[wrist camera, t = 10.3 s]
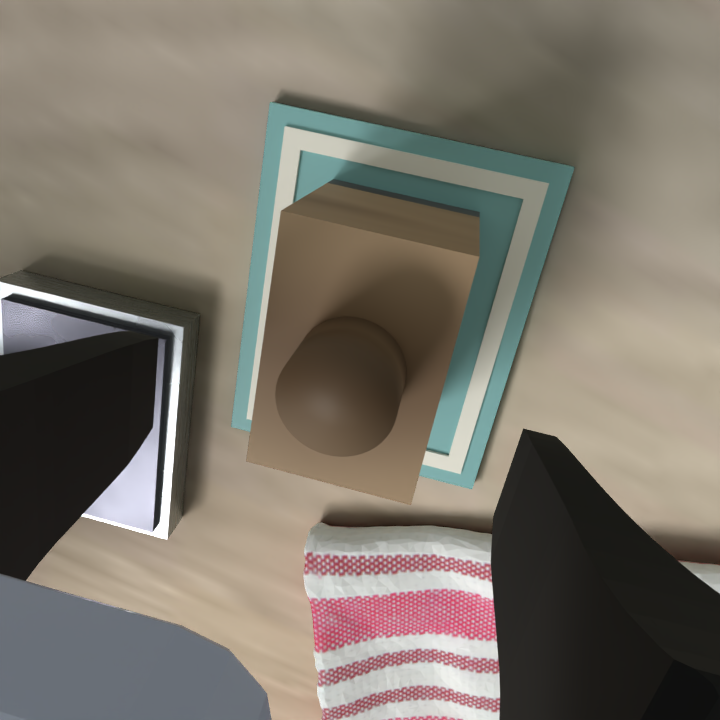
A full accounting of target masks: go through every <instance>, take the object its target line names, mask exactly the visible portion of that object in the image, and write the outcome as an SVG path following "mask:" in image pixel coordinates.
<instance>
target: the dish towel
mask: <svg viewBox="0 0 720 720" xmlns="http://www.w3.org/2000/svg"><path fill="white" fill-rule="evenodd" d="M491 544H492V534H489V533H479V532H474V531H470V530H463V529H455V528H449V527H438V526H428V525H426V526H387V527H385V526H378V527H345V526H330V525H327V524H324V523H317V524H316V525H315V526H314V527H312V528H311V530H310V531H309V533H308V538H307V541H306V545H305V549H304V555H305V559H306V561H305V568H304V575H303V576H304V585H305V589H306V592H307V595H308V598H309V601H310V604H311V609H312V617H313V628H314V640H315V647H314V656H315V667H316V669H317V671H318V673H319V680H318V683H317V695H318V698H319V701H320V705H321V708H322V711H323V716H322V720H499V716H500V677H499V660H498V648H497V636H496V624H495V612H494V601H493V588H492V575H491ZM677 561H679V562H680V563H681V564H682V565H683V566H685V567H686V568H687V569H688V570H689V571H691V572H692V573H693V574H694V575H696V576H697V577H698V578H700V579H701V580H702V581H703V582H705V583H706V584H707V585H709V586H710V587H711V588H713V589H714V590H715V591H717V592H718V593H720V564H711V563H697V562H690V561H681V560H677Z"/></svg>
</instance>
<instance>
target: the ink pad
mask: <svg viewBox="0 0 720 720" xmlns="http://www.w3.org/2000/svg"><path fill="white" fill-rule="evenodd" d="M199 320H200V314H197V313H193V312H189V311H185V310H180V309H176V308H172V307H168V306H164V305H160V304H156V303H152V302H148V301H144V300H140V299H136V298H132V297H127V296H123V295H119V294H115V293H111V292H107V291H103V290H99V289H95V288H91V287H87V286H83V285H79V284H75V283H70V282H66V281H62V280H58V279H54V278H50V277H46V276H42V275H38V274H34V273H30V272H26V271H22V270H20V271H18V272H15V273H13V274H10V275H8V276H5V277H3V278H0V355H5V354H10V353H15V352H21V351H26V350H31V349H36V348H41V347H45V346H50V345H54V344H59V343H63V342H68V341H72V340H77V339H82V338H86V337H91V336H96V335H101V334H106V333H112V332H119V331H133V332H137V333H141V334H145V335H149V336H153V337H157V338H159V341H158V357H157V374H156V390H155V406H154V422H153V429H152V430H151V432H150V433H149V435H148V436H147V438H146V439H145V441H144V442H143V444H142V446H141V447H140V449H139V450H138V451H137V453H136V454H135V456H134V457H133V459H132V460H131V461H130V463H129V464H128V466H127V467H126V468H125V469H124V470H123V471H122V472H121V473H120V475H119V476H118V477H117V478H116V479H115V480H114V481H113V482H112V483H111V484H110V486H109V487H108V488H107V489H106V490H105V491H104V492H103V493H102V494H101V495H100V496H99V497H98V499H97V500H96V501H95V502H94V503H93V504H92V505H91V506H90V507H89V508H88V509H87V510H86V511H85V512H84V513H83V515H82V516H84V517H88V518H91V519H95V520H98V521H102V522H106V523H109V524H113V525H116V526H120V527H124V528H127V529H131V530H134V531H138V532H142V533H145V534H149V535H153V536H156V537H160V538H163V539H168V538H169V536H170V535H171V533H172V532H173V530H174V529H175V528H176V526H177V525H178V523H179V522H180V520H181V519H182V512H183V500H184V489H185V478H186V467H187V455H188V444H189V433H190V421H191V410H192V399H193V387H194V376H195V365H196V353H197V342H198V331H199Z"/></svg>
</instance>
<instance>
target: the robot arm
mask: <svg viewBox="0 0 720 720" xmlns="http://www.w3.org/2000/svg"><path fill="white" fill-rule="evenodd" d="M158 341H159V338H157V337H153V336H149V335H145V334H141V333H137V332H133V331H119V332H112V333H106V334H101V335H96V336H91V337H86V338H82V339H77V340H72V341H68V342H63V343H59V344H54V345H50V346H45V347H41V348H36V349H31V350H26V351H21V352H15V353H10V354H5V355H0V720H271V715H270V709H269V703H268V697H267V693H266V692H265V691H264V689H263V688H262V687H261V685H260V684H259V683H258V682H257V681H256V680H255V678H254V677H253V676H252V675H251V674H250V673H249V672H248V670H247V669H246V668H245V667H244V666H243V665H242V663H241V662H240V661H239V660H238V659H237V658H236V657H235V655H234V654H233V653H232V652H231V651H230V650H229V649H228V648H226V647H224V646H222V645H220V644H218V643H216V642H214V641H212V640H210V639H208V638H206V637H204V636H202V635H200V634H198V633H196V632H194V631H192V630H190V629H188V628H186V627H184V626H182V625H178V624H175V623H171V622H168V621H164V620H161V619H157V618H154V617H150V616H147V615H143V614H140V613H136V612H133V611H129V610H126V609H122V608H119V607H115V606H111V605H108V604H104V603H101V602H97V601H94V600H90V599H87V598H83V597H80V596H76V595H73V594H69V593H66V592H62V591H59V590H55V589H52V588H48V587H45V586H41V585H38V584H34V583H31V582H27V581H26V579H27V578H28V577H29V575H30V574H31V573H32V571H33V570H34V569H35V567H36V566H37V565H38V563H39V562H40V561H41V560H42V559H43V557H44V556H45V555H46V554H47V553H48V552H49V550H50V549H51V548H52V547H53V546H54V545H55V543H56V542H57V541H58V540H59V539H60V538H61V537H62V536H63V535H64V534H65V533H66V532H67V531H68V530H69V528H70V527H71V526H72V525H73V524H74V523H75V522H76V521H77V520H78V519H79V518H80V517H81V516H82V515H83V513H84V512H85V511H86V510H87V509H88V508H89V507H90V506H91V505H92V504H93V503H94V502H95V501H96V500H97V499H98V497H99V496H100V495H101V494H102V493H103V492H104V491H105V490H106V489H107V488H108V487H109V486H110V484H111V483H112V482H113V481H114V480H115V479H116V478H117V477H118V476H119V475H120V473H121V472H122V471H123V470H124V469H125V468H126V467H127V466H128V464H129V463H130V461H131V460H132V459H133V457H134V456H135V454H136V453H137V451H138V450H139V449H140V447H141V446H142V444H143V442H144V441H145V439H146V438H147V436H148V435H149V433H150V432H151V430H152V429H153V422H154V406H155V390H156V374H157V357H158ZM491 575H492V588H493V601H494V612H495V624H496V636H497V648H498V660H499V677H500V716H499V720H720V593H718V592H717V591H715V590H714V589H713V588H711V587H710V586H709V585H707V584H706V583H705V582H703V581H702V580H701V579H700V578H698V577H697V576H696V575H694V574H693V573H692V572H691V571H689V570H688V569H687V568H686V567H685V566H683V565H682V564H681V563H680V562H679V561H677V560H676V559H675V558H674V557H673V556H671V555H670V554H669V553H668V552H667V551H665V550H664V549H663V548H662V547H661V546H660V545H659V544H657V543H656V542H655V541H654V540H653V539H652V538H651V537H650V536H649V535H648V534H647V533H646V532H645V531H644V530H643V529H641V528H640V527H639V526H638V525H637V524H636V523H635V522H634V521H633V520H632V519H631V518H630V517H629V516H628V515H627V514H626V513H625V512H624V511H623V510H622V509H621V508H620V507H619V505H618V504H617V503H616V502H615V501H614V500H613V499H612V498H611V497H610V496H609V495H608V494H607V493H606V492H605V490H604V489H603V488H602V487H601V486H600V485H599V484H598V483H597V482H596V480H595V479H594V478H593V477H592V476H591V475H590V474H589V472H588V471H587V470H586V469H585V468H584V467H583V465H582V464H581V463H580V462H579V461H578V460H577V459H576V457H575V456H574V455H573V454H572V453H571V452H570V451H569V449H568V448H567V447H566V446H565V445H564V444H563V443H562V442H561V441H560V440H559V439H558V438H557V437H555V436H551V435H547V434H543V433H539V432H535V431H531V430H527V429H523V431H522V434H521V437H520V440H519V443H518V446H517V449H516V452H515V455H514V458H513V461H512V463H511V466H510V469H509V472H508V475H507V478H506V481H505V484H504V487H503V490H502V493H501V496H500V498H499V501H498V504H497V507H496V510H495V513H494V516H493V529H492V544H491Z"/></svg>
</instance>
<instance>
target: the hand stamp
mask: <svg viewBox="0 0 720 720" xmlns="http://www.w3.org/2000/svg"><path fill="white" fill-rule="evenodd" d="M479 257H480V212H478V211H473V210H469V209H464V208H460V207H455V206H451V205H447V204H442V203H438V202H433V201H429V200H425V199H420V198H416V197H411V196H407V195H402V194H398V193H394V192H389V191H385V190H380V189H376V188H372V187H367V186H363V185H358V184H354V183H349V182H345V181H341V180H336V179H333V180H331V181H329V182H328V183H326V184H324V185H323V186H321V187H319V188H318V189H316V190H314V191H313V192H311V193H309V194H308V195H306V196H304V197H303V198H301V199H299V200H298V201H296V202H294V203H293V204H291V205H289V206H288V207H286V208H284V209H283V210H281V213H280V220H279V228H278V235H277V242H276V249H275V257H274V264H273V271H272V278H271V285H270V293H269V300H268V307H267V314H266V322H265V329H264V336H263V343H262V350H261V358H260V365H259V372H258V379H257V387H256V394H255V401H254V408H253V415H252V423H251V430H250V437H249V444H248V452H247V459H246V461H247V462H251V463H255V464H258V465H262V466H266V467H270V468H273V469H277V470H281V471H285V472H288V473H292V474H296V475H300V476H303V477H307V478H311V479H315V480H318V481H322V482H326V483H330V484H333V485H337V486H341V487H345V488H348V489H352V490H356V491H360V492H363V493H367V494H371V495H375V496H378V497H382V498H386V499H390V500H393V501H397V502H401V503H405V504H408V505H411V502H412V499H413V495H414V492H415V488H416V484H417V481H418V477H419V474H420V470H421V466H422V463H423V459H424V456H425V452H426V448H427V445H428V441H429V437H430V434H431V430H432V427H433V423H434V419H435V416H436V412H437V409H438V405H439V401H440V398H441V394H442V391H443V387H444V383H445V380H446V376H447V372H448V369H449V365H450V362H451V358H452V354H453V351H454V347H455V344H456V340H457V336H458V333H459V329H460V326H461V322H462V318H463V315H464V311H465V307H466V304H467V300H468V297H469V293H470V289H471V286H472V282H473V279H474V275H475V271H476V268H477V264H478V261H479Z"/></svg>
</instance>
